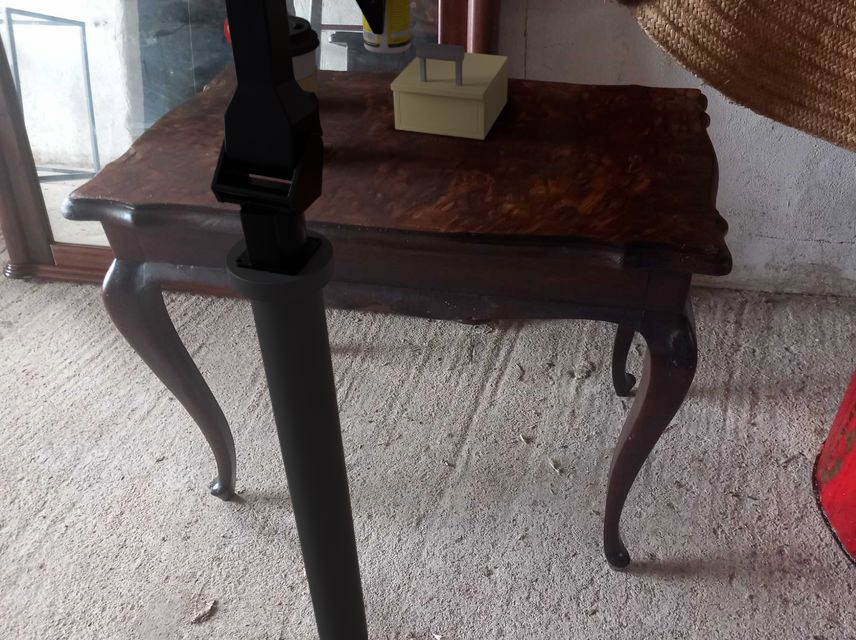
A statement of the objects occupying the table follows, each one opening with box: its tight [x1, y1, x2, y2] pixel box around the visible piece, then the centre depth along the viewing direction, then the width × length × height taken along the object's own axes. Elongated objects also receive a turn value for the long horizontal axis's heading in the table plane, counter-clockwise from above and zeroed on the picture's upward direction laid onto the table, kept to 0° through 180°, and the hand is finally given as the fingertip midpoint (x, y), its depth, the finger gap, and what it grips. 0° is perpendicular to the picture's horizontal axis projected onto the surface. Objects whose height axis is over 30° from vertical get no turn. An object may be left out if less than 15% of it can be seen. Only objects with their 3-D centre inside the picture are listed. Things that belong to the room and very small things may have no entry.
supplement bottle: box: [361, 0, 411, 55], centre depth 89 cm, size 5×5×10 cm
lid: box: [390, 41, 509, 100], centre depth 99 cm, size 13×12×5 cm
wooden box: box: [392, 62, 509, 141], centre depth 102 cm, size 13×12×5 cm
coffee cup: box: [288, 14, 321, 99], centre depth 89 cm, size 9×9×15 cm
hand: (387, 26), depth 90 cm, fingers closed on supplement bottle, 5 cm apart
